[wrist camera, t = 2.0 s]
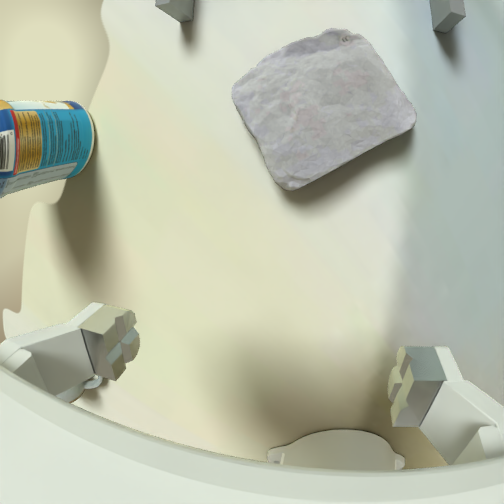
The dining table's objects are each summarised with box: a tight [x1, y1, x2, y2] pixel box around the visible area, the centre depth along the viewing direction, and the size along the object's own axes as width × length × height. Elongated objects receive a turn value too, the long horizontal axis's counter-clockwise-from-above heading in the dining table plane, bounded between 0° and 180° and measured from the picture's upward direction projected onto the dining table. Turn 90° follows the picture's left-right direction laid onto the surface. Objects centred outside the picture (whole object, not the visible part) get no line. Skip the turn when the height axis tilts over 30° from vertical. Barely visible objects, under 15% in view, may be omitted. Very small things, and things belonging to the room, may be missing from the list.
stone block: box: [232, 28, 417, 191], centre depth 21 cm, size 12×5×10 cm
